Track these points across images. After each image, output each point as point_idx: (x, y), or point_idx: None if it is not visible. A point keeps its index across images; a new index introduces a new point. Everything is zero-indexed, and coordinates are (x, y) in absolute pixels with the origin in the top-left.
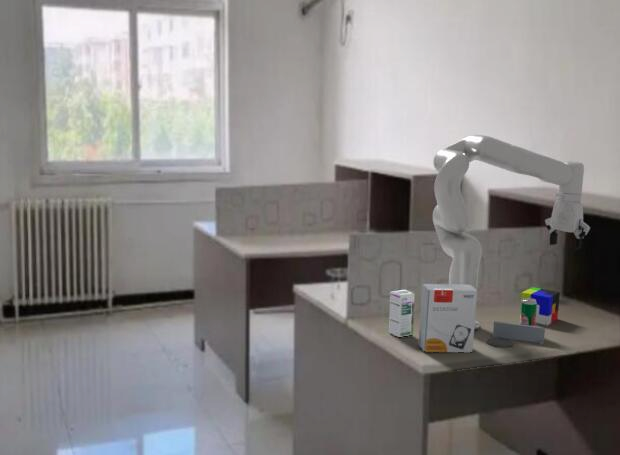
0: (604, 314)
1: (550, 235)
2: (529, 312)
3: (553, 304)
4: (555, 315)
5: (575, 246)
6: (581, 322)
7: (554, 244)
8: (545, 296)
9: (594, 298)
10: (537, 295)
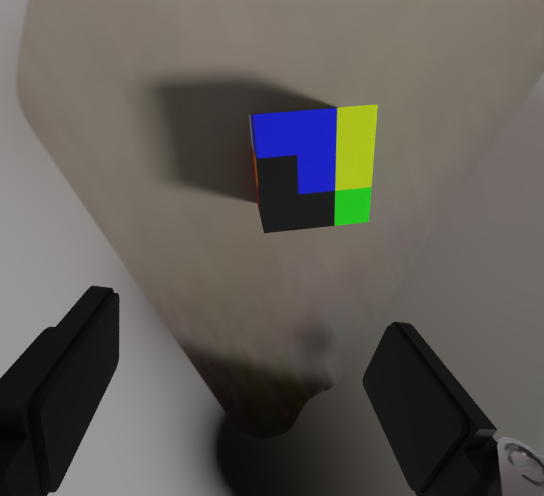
0: (193, 327)
1: (475, 404)
2: None
3: (256, 165)
4: (256, 187)
5: (72, 308)
6: (195, 222)
7: (373, 361)
8: (274, 118)
9: (270, 409)
10: (307, 110)
